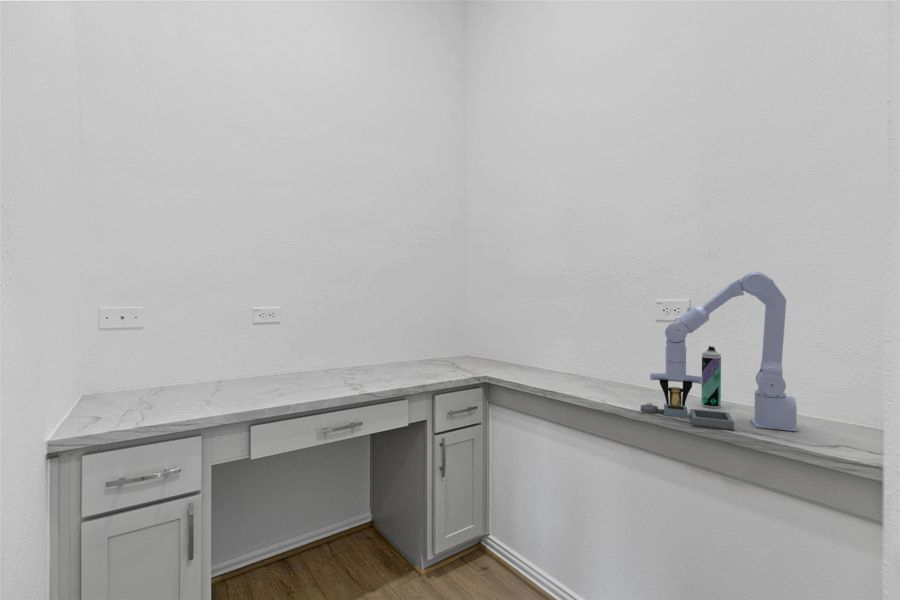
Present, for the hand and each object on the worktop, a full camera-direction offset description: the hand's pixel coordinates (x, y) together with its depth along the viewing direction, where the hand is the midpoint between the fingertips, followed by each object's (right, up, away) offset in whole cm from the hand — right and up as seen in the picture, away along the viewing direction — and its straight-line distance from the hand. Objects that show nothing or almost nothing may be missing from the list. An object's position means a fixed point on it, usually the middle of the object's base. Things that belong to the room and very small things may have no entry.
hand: (675, 404), depth 140 cm
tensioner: (-3, -3, +2) cm, 4 cm away
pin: (0, -3, 0) cm, 3 cm away
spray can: (+16, -3, +9) cm, 18 cm away
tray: (+5, -3, -10) cm, 12 cm away
